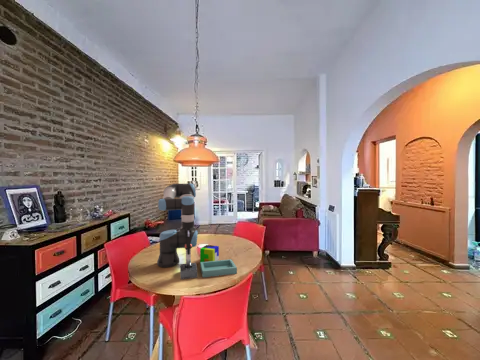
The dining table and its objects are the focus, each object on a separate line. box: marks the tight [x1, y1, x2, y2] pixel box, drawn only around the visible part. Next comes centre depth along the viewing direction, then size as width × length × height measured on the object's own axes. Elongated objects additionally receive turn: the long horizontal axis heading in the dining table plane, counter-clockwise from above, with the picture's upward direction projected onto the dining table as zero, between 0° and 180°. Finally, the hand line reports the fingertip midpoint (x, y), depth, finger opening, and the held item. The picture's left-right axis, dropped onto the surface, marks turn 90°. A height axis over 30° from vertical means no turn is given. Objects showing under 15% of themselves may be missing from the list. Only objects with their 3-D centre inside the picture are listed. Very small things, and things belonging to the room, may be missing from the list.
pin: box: [184, 244, 193, 268], centre depth 149 cm, size 5×5×16 cm
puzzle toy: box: [199, 244, 220, 263], centre depth 172 cm, size 10×10×10 cm
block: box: [179, 262, 198, 280], centre depth 149 cm, size 12×10×5 cm
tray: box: [199, 258, 238, 278], centre depth 155 cm, size 16×22×4 cm
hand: (188, 257), depth 149 cm, fingers closed on pin, 5 cm apart
